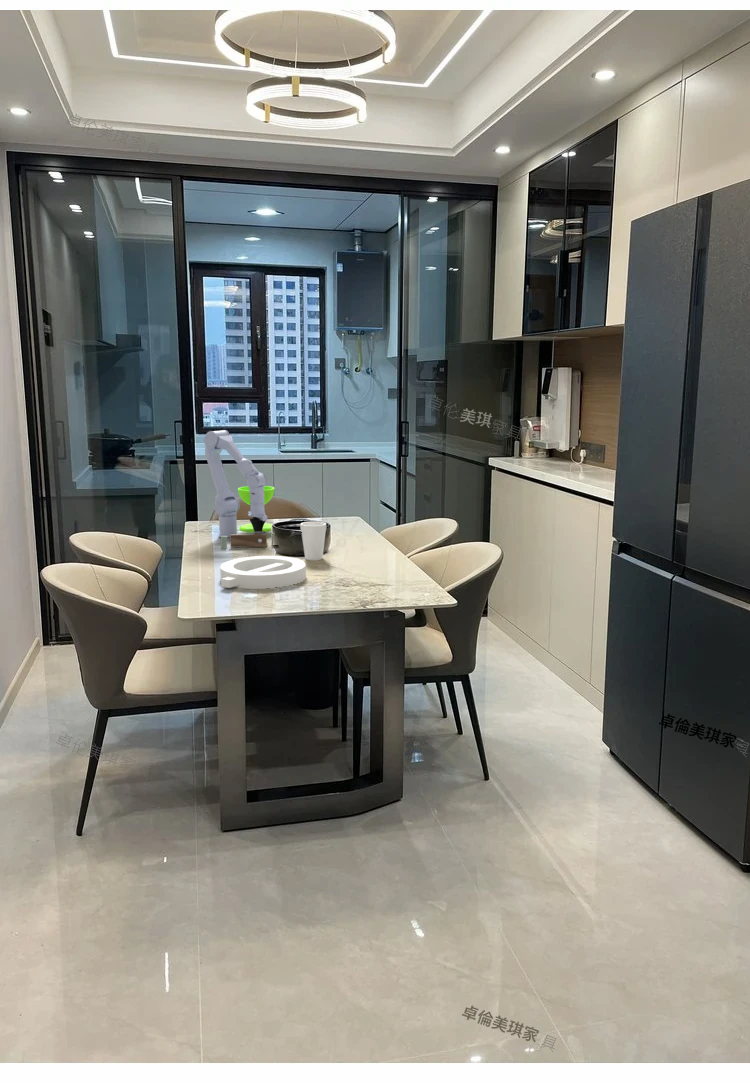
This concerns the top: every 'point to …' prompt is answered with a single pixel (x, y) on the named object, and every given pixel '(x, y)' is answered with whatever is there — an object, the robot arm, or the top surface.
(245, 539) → the brown rectangular bar
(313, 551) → the foam cup
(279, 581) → the ring with crossbar
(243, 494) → the wineglass
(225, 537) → the pale green rectangular bar
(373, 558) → the top surface
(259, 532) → the grey notched block
